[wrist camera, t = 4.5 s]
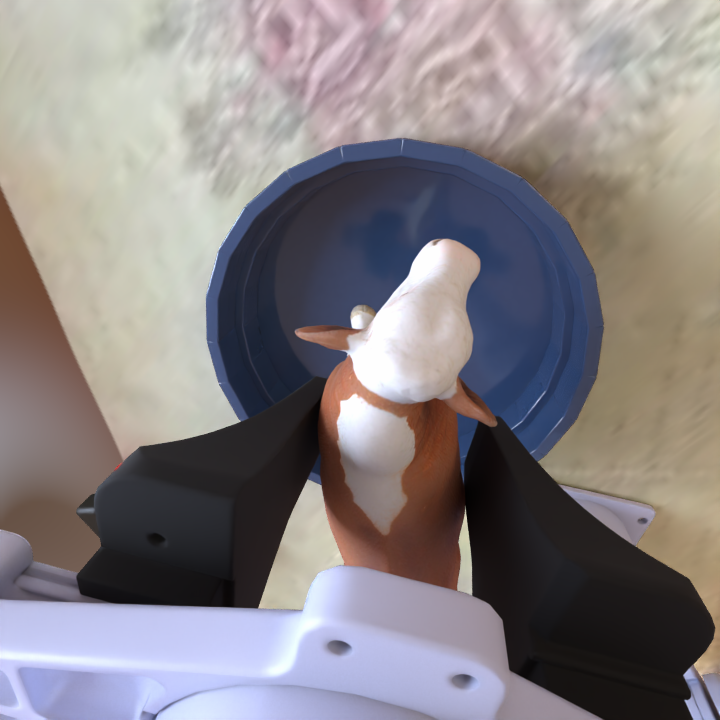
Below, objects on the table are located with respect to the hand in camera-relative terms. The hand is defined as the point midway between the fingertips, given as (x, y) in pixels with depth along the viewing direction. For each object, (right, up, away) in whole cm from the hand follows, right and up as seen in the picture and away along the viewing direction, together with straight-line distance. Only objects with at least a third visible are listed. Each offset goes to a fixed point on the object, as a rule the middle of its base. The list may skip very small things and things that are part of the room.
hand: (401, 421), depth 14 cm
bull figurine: (0, +1, +3) cm, 4 cm away
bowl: (+1, +4, +9) cm, 10 cm away
